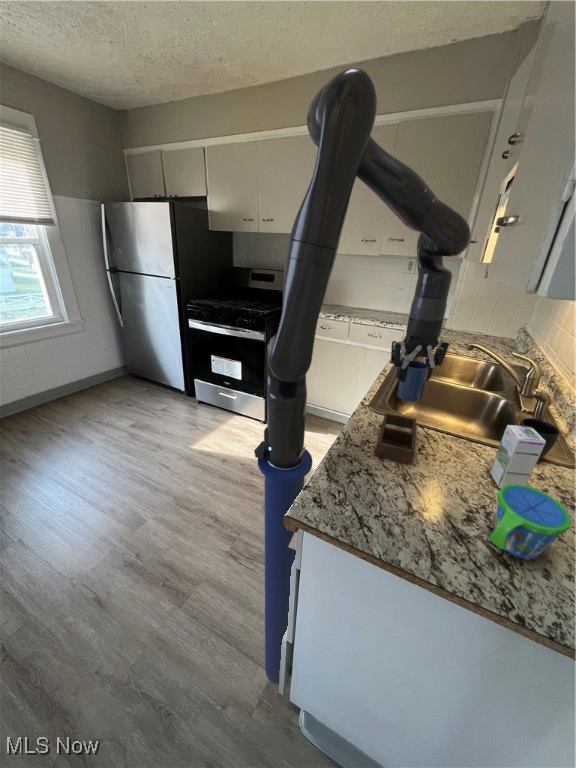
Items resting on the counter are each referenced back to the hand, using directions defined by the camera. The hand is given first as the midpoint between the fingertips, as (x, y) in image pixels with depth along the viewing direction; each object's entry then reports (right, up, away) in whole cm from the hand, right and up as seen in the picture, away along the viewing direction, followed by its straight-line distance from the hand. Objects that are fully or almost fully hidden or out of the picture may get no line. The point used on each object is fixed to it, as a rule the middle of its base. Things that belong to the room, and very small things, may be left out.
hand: (412, 380), depth 80 cm
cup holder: (-1, -18, +9) cm, 20 cm away
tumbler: (0, -4, +2) cm, 5 cm away
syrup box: (+21, -25, -5) cm, 33 cm away
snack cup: (+12, -32, -20) cm, 39 cm away
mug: (+31, -21, +5) cm, 38 cm away
